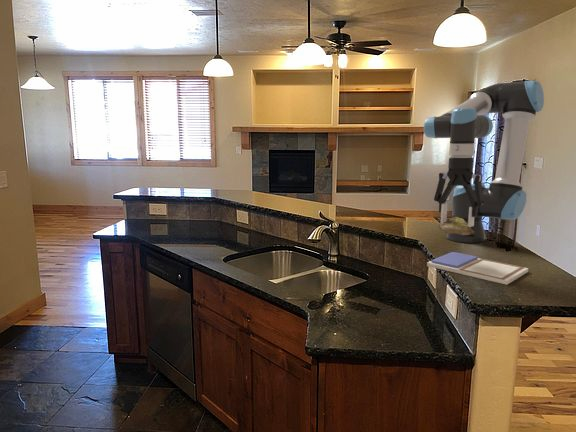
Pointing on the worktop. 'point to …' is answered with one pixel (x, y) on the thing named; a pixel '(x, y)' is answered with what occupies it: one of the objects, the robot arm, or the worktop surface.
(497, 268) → the board
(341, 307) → the worktop surface
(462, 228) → the rock
